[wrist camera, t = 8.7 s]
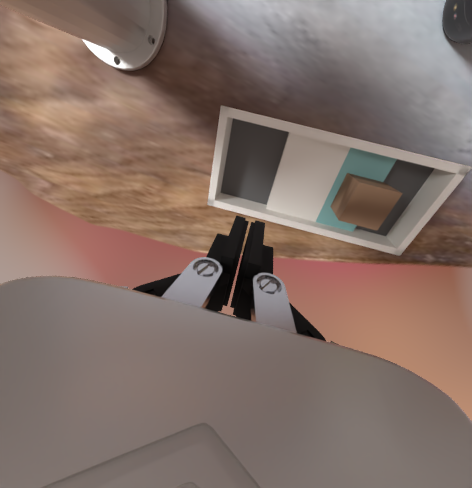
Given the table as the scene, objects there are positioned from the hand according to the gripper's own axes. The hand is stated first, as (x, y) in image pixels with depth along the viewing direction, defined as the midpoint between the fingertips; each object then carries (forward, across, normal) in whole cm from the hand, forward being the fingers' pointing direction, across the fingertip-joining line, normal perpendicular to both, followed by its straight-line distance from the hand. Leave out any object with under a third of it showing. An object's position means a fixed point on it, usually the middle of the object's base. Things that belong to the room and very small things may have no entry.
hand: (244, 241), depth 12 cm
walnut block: (+20, -14, +1) cm, 25 cm away
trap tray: (+22, -8, +1) cm, 24 cm away
